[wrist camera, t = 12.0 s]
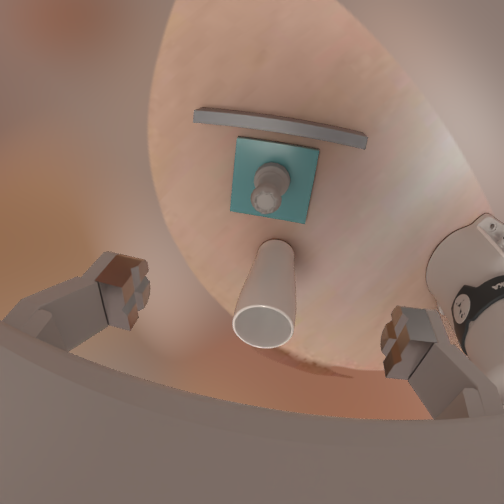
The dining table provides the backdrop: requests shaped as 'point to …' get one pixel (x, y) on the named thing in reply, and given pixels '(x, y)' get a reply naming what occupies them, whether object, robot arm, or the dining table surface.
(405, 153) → the dining table surface
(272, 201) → the rook chess piece
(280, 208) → the coaster
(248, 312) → the drinking glass
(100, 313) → the robot arm
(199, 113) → the low wall
